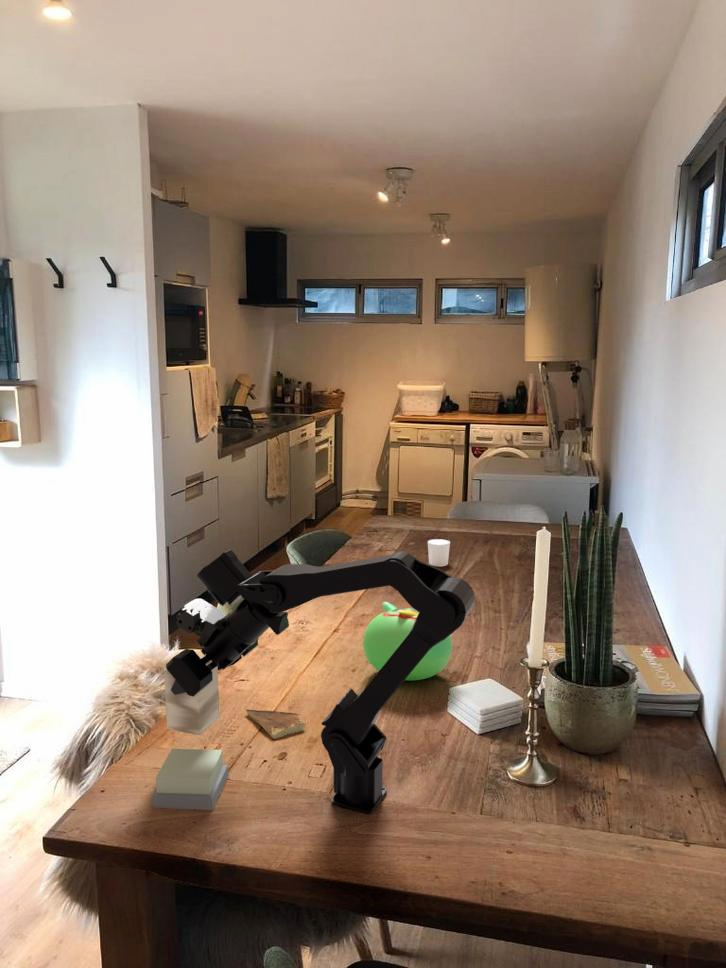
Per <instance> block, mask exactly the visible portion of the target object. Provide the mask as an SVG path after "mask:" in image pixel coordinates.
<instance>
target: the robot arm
mask: <svg viewBox="0 0 726 968" xmlns="http://www.w3.org/2000/svg"><path fill="white" fill-rule="evenodd" d="M196 578H197V580H198V582H200V584H202V586H204V588H205V589H206V590H207V592H208V593H209V594H210V595H211V596H212V597H213V598H214V600H215V601H216V602H217V603H218V604H219V605H220V606H222V607H224V606H225V605H226V604H228V606H233V605H234V604H235V603H238V601H239V600H240V599H241V598H242V601H240V603H238V604H237V606H235V608H233V610H232V611H229V612H228V613H227V614H224V613H223V612H222V611H221V610H220V609H219V608H218V607H216V606H215V605H213V604H211V603H209V602H208V601H206V600H205V599H203V598H197V597H196V598H195V599H193V600H190V601H189V602H187V603H186V604H184V606H183V608H181V610H180V611H179V613H177V614H176V616H175V617H176V619H177V621H176V626H177V627H178V628H179V629H181V630H182V631H184V632H186V633H187V634H194V635H196V636H199V637H198V639H196V642H197V644H198V645H199V646H200V647H202V648H201V649H200V652H201V653H202V655H204V656H203V657H201V658H200V656H199V654H198V653H197V652H196V651H195V650H194V649H190V648H189V649H188V648H185V649H183V650H182V651H181V652H179V653H177V654H176V655H174V656H173V657H171V659H170V660H169V661H168V662H167V663H166V664H165V669H167V670H168V671H169V673H170V674H171V675H172V676H173V677H174V679H175V681H174V684H173V686H172V688H171V691H172V692H173V694H174V695H177V694H181V693H185V692H186V693H187V694H188V695H189V696H192V697H194V696H195V695H196V694H197V693H199V692H200V691H201V690H202V689H204V688H205V687H206V686H207V685H208V684H210V682H211V681H212V680H213V677H212V670H213V669H214V668H215V667H217V666H218V671H221V670H225V669H226V668H228V667H231V666H234V665H235V664H236V663H239V661H240V660H241V659H242V658H245V657H246V656H247V655H248V654H249V653H251V652H252V651H253V650H254V649H255V648H256V647H257V646H259V639H260V637H261V636H262V635H263V634H264V633H265V632H266V631H267V630H268V629H271V630H272V631H273V633H274V634H275V635H277V636H278V635H280V634H281V633H283V632H285V630H286V629H288V628H289V627H290V623H289V618H288V617H289V616H288V615H289V613H288V612H287V611H289V610H291V609H294V608H297V607H299V606H301V605H303V604H306V603H309V602H310V601H313V600H315V599H318V598H322V597H327V596H333V595H340V594H347V593H351V592H352V593H353V592H357V591H365V590H371V589H378V588H383V587H389V586H390V587H391V588H393V589H394V590H395V591H396V592H398V593H399V594H400V596H402V598H403V599H404V600H405V601H406V602H407V603H408V605H409V606H410V608H411V609H415V610H417V611H418V612H419V614H418V616H417V618H416V620H415V623H414V625H413V627H412V630H411V632H410V633H409V635H408V636H407V637H406V638H405V640H404V641H403V642H402V643H401V645H400V646H399V647H398V648H397V650H396V651H395V652H394V653H393V655H392V656H391V657H390V658H389V660H388V661H387V662H386V663H385V665H384V666H383V667H382V668H381V670H380V671H377V673H376V674H375V676H374V677H373V678H372V680H371V681H370V682H369V683H368V685H367V686H366V687H365V688H364V689H363V690H362V691H360V692H359V693H356V692H355V691H354V689H353V688H352V687H350V688H349V690H347V692H346V693H345V694H344V695H343V696H342V698H341V699H340V700H339V701H338V702H337V703H336V705H335V706H334V708H333V709H332V710H331V711H330V713H329V714H327V716H326V717H325V718H324V719H323V720H322V722H321V725H322V726H324V727H323V729H322V730H321V732H320V739H321V744H322V745H323V747H324V749H325V750H326V751H327V755H328V756H329V759H330V762H331V765H332V768H333V769H332V771H333V772H332V773H333V778H332V779H333V793H334V795H333V797H332V798H331V801H330V802H331V804H332V805H336V806H338V807H343V808H345V809H350V810H353V811H357V812H360V813H365V814H366V815H367V814H372V813H373V812H374V810H375V809H376V807H378V805H379V804H380V802H381V801H382V799H383V798H384V797H385V795H386V794H387V792H388V790H387V788H386V787H385V786H383V780H384V779H383V776H384V775H383V769H384V767H383V766H384V765H383V763H384V761H383V758H381V757H378V756H379V754H380V753H381V752H382V750H383V749H384V747H385V745H386V742H387V739H388V738H387V736H386V735H385V733H383V731H382V730H381V729H380V727H378V726H377V725H376V722H377V719H378V718H379V715H380V713H381V711H382V708H383V707H384V706H385V705H386V703H388V701H389V700H390V699H391V698H392V696H393V695H394V694H395V692H396V691H397V690H398V689H399V688H400V686H401V685H402V684H403V683H404V682H405V681H406V680H405V679H406V678H407V677H408V675H409V674H410V673H411V672H412V671H413V669H414V668H415V667H416V666H417V665H418V663H419V662H420V661H421V660H422V658H423V657H424V656H425V655H426V654H427V652H428V651H429V650H430V649H431V648H432V647H434V646H435V645H437V644H439V643H440V642H442V641H443V640H445V639H446V638H447V637H448V636H449V635H450V636H452V634H453V633H455V631H457V630H459V628H460V627H462V625H463V624H464V622H465V620H467V617H468V616H469V614H470V613H471V611H472V609H473V608H474V606H475V604H476V596H475V592H474V589H473V588H472V586H471V585H470V584H469V583H468V582H467V581H466V580H464V579H462V578H460V577H459V578H458V577H455V576H454V577H453V576H451V575H450V574H448V573H447V572H445V570H443V569H440V568H438V567H437V566H432V565H430V564H429V563H426V562H424V561H421V560H420V559H418V558H417V557H415V556H413V555H412V554H410V553H408V552H406V551H402V550H401V551H396V552H394V553H392V554H387V555H382V556H375V557H369V558H365V559H359V560H353V561H348V562H342V563H337V564H331V565H326V566H325V565H324V566H315V565H311V564H310V565H309V564H307V563H306V564H305V563H287V564H284V565H281V566H279V567H277V568H276V569H273V570H272V569H271V570H270V569H269V570H260V571H258V572H257V573H254V574H252V573H251V572H250V570H248V569H247V567H245V565H244V564H243V563H242V562H241V560H240V559H239V558H238V556H237V554H236V553H235V552H234V551H233V550H232V549H230V548H229V549H228V550H226V551H224V552H223V553H221V554H220V555H219V556H218V557H217V558H215V559H214V560H213V561H211V562H210V563H209V564H208V565H205V566H204V567H203V568H202V569H201V570H200V571H199V572H198V573H197V574H196ZM210 661H212V662H211V663H210V664H208V665H206V664H207V663H209V662H210Z"/></svg>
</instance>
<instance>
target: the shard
mask: <svg viewBox="0 0 726 968" xmlns="http://www.w3.org/2000/svg"><path fill="white" fill-rule="evenodd" d="M245 710H246V711H245V712H246V713H247V717H249V718H250V719H252V720H253V721H255V722H256V723H257V724H258V725H260V726H261V727H262V728H263V730H265V732H267V734H268V735H269V736H270V738H273V740H275V739H278V738H282V737H285V736H288V735H291V733H292V734H295V732H296V733H300V732H302V731H304V728H305V727H306V724H307V723H306V721H304V720H303V718H301V714H300V713H296V712H295V713H294V712H284V711H275V710H255V709H245ZM287 734H288V735H287ZM284 735H285V736H284Z"/></svg>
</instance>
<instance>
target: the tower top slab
mask: <svg viewBox="0 0 726 968" xmlns="http://www.w3.org/2000/svg"><path fill="white" fill-rule="evenodd" d="M223 755H224V753H223V749H198V748H197V749H196V748H195V749H194V748H190V749H189V748H171V750H170V752H169V753H168V755H167V757H166V759H165V761H164V762H163V764H162V766H161V768H160V769H159V771H158V773H157V775H156V777H155V784H156V785H155V790H156V789H157V793H179V794H211V792H212V790H213V787H214V785H215V782H216V780H217V778H218V775H219V773H220V771H221V768H222V766H223V765H224V760H223V759H224V758H223Z"/></svg>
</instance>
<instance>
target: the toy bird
mask: <svg viewBox="0 0 726 968" xmlns="http://www.w3.org/2000/svg"><path fill="white" fill-rule="evenodd" d="M381 607H382V610H383V612H382V613H379V614H378V615H376V616H375V617H374V618H373V619H372V620H371V621H369V623H368V625H367V627H366V629H365V632H364V635H363V638H362V639H363V640H362V644H363V645H362V646H363V652H364V654H365V655H364V656H365V657H366V659H367V661H368V663H369V664H370V665H371V666H372V667H373V668H374V669H375V670H376V671H377V672H379V671H380V670H381V668H382V667H383V666H384V665H385V663H386V662H387V661H388V660H389V658H390V657H391V656H392V655H393V653H394V652H395V651H396V650H397V648H398V647H399V646H400V645H401V643H402V642H403V641H404V640H405V638H406V637H407V636H408V635H409V633H410V632H411V630H412V627H413V625H414V623H415V620H416V618H417V616H418V614H419V612H418V611H417V610H415V609H414V608H408V607H407V608H403V607H397V606H395V605H394V604H392V603H390V602H388V601H383V602H382V603H381ZM452 651H453V640H452V635H449V636H448V637H447V638H446V639H445V640H443V641H442V642H440V643H439V644H437V645H435V646H434V647H432V648H431V649H430V650H429V651H428V652H427V654H426V655H425V656H424V657H423V658H422V660H421V661H420V662H419V663H418V665H417V666H416V667H415V668H414V669H413V671H412V672H411V673H410V674H409V675H408V677H407V678H406V679H405V680H404V681H408V682H409V681H421V680H424V679H429V678H431V677H433V676H436V675H437V674H439V673H441V672H442V670H443V669H444V668H445V667H446V665H447V664H448V662H449V660H450V659H451V655H452Z"/></svg>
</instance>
